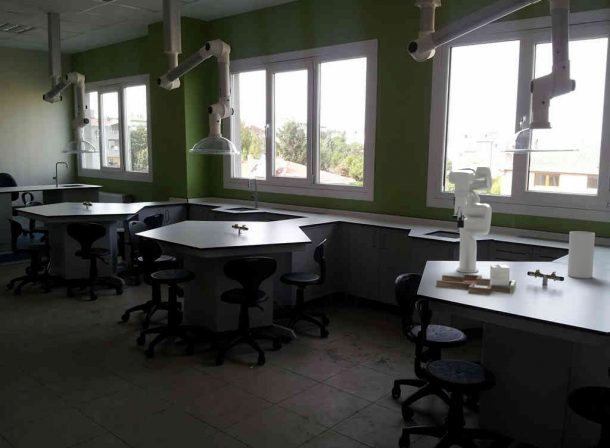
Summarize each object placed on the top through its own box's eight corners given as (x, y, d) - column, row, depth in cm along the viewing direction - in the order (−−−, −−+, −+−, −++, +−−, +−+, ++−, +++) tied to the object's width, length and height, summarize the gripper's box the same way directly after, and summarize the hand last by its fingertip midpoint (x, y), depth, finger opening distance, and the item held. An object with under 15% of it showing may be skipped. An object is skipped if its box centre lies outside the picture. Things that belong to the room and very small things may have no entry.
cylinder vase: (591, 275, 300) (593, 231, 298) (593, 279, 289) (595, 234, 286) (567, 273, 306) (569, 230, 303) (567, 277, 294) (570, 233, 292)
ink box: (509, 290, 264) (510, 264, 263) (491, 290, 266) (492, 263, 265) (506, 286, 273) (507, 261, 271) (489, 286, 274) (490, 260, 273)
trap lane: (445, 277, 295) (445, 270, 295) (516, 284, 279) (517, 276, 279) (433, 289, 268) (433, 281, 267) (511, 297, 251) (512, 288, 251)
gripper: (456, 193, 293) (456, 225, 295) (451, 194, 280) (450, 228, 282) (470, 193, 290) (469, 226, 292) (466, 194, 276) (465, 229, 278)
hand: (460, 227), depth 287 cm, fingers closed
